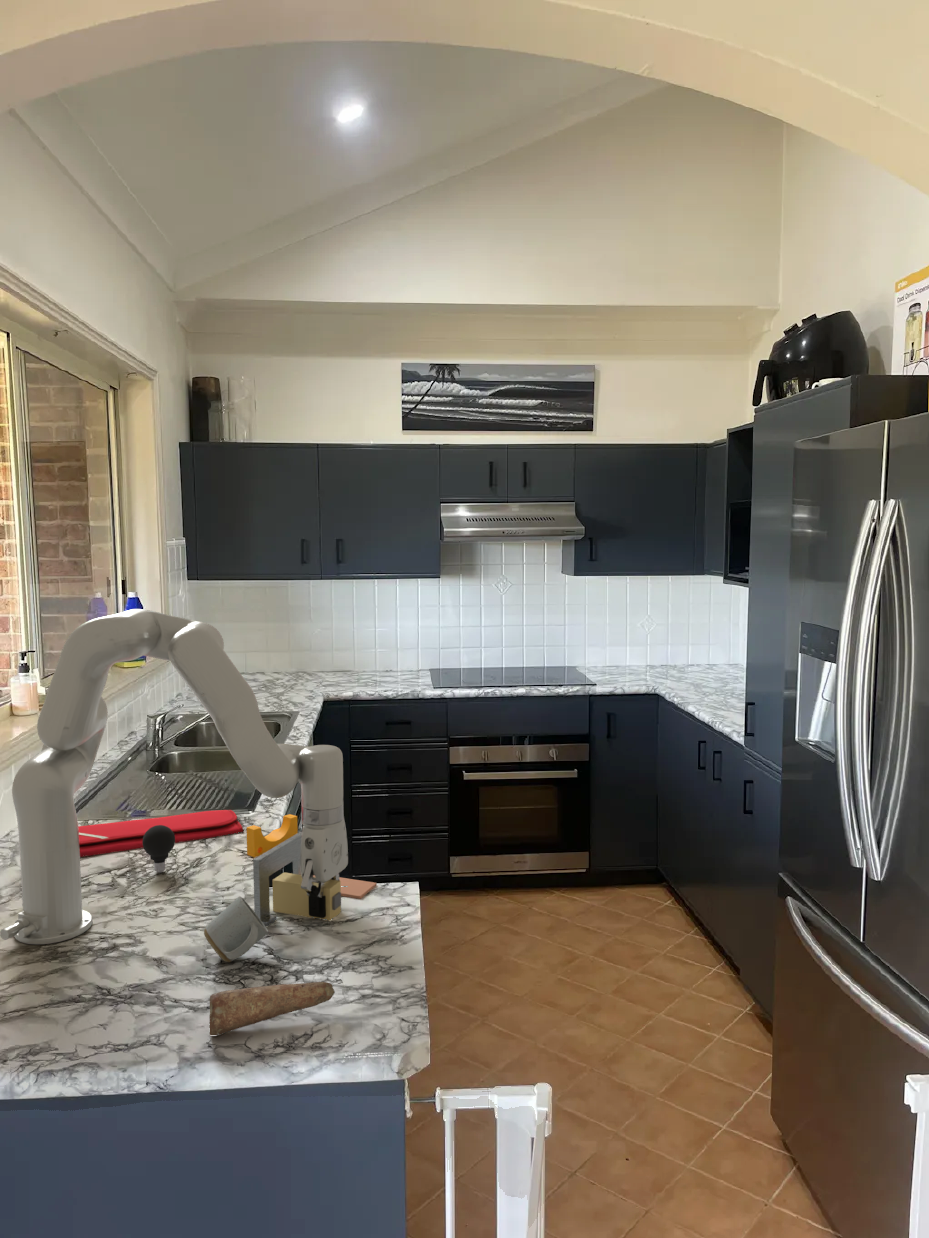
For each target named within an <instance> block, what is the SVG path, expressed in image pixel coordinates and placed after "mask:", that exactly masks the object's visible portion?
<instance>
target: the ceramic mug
mask: <svg viewBox="0 0 929 1238" xmlns="http://www.w3.org/2000/svg"><path fill="white" fill-rule="evenodd" d="M268 933H269V930H268V928H267V927H266V926H265V925H264V924H263V922H262V921H261V920H260V918H259V917H258V916H257V915H256V913H255V911H254V910H253V908H252V907H251V906H250V904H249V903H248V902H247V901H246V900H245V899H244V898H243V897H242V896H240V895H239V896H238V897H236V899H234V900H233V901H232V902H231V903H230V904H229V905H227V907H226V908H225V909H223V911H221V912H220V913H219V914H218V915H217V916H216V917H215V918H213V919H212V920H211V921H210V922H209V923H208V925H207V926H206V927H205V928H204V930H203V935H204V937H205V940H206V941H207V942H208V944H209V945H210V947H211V948H212V949H213V950H214V952H215V953H216V954H217V956H219V957H220V959H222V960H223V961H224V962H225V963H231V962H233V961H235V960H236V959H238V958H240V957H242V956H244V955H245V954H246V953H247V952H248V951H250V949H251V948H252V947H253V946H254V945H255V944H257V943H258V942H259V941H261V940H262V939H263V938H264V937H266V936H267V935H268Z"/></svg>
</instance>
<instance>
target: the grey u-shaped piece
mask: <svg viewBox="0 0 929 1238" xmlns="http://www.w3.org/2000/svg"><path fill="white" fill-rule="evenodd" d="M301 838H302V831H298V833H297V834H295V835H294V836H292V837H290V838H289V839H287V840H285V841H284V842H282V843H280V844H279V845H277V846H275V847H274V848H272V849H270V850H269V851H267V852H265V853H263V854H262V855H260V856H258V857H255V858H253V859H252V864H253V865H252V866H253V867H252V868H253V901H254V905H253V907H254V910H253V911H254V912H255V913H256V915H257V916H258V917H259V918H260V920H261V921H262V922H263V924H264V925H265V927H266V926H268V927H269V926H271V923H272V924H273V923H275V922H276V921H277V920H276V919H277V915H275V914H270V913H271V909H270V908H271V907H270V877H271V876H272V875H273V874H274V873H276V872H278V871H279V870H281V869H283V868H284V867H285V866H287V865H289V864H290V863H292V874H298V875H301V869H300V854H301ZM275 920H276V921H275Z"/></svg>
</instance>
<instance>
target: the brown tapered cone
mask: <svg viewBox="0 0 929 1238" xmlns="http://www.w3.org/2000/svg"><path fill="white" fill-rule="evenodd" d="M334 995H335V989H334V987H333V984H332V983H329V982H327V981H315V982H314V981H313V982H304V983H302V982H301V983H289V984H288V983H285V984H284V983H282V984H281V983H280V984H274V985H265V986H264V985H263V986H262V985H261V986H255V987H254V986H252V987H246V988H239V989H237V988H236V989H235V988H234V989H228V990H223V991H218V992H215V993H212V994H211V995H209V1024H210V1025H209V1028H210V1032H209V1036H210V1035H218V1034H221V1035H223V1034H222V1033H224V1034H225V1032H226V1033H229V1032H231V1030H232V1031H235V1030H237V1029H241V1028H244V1027H247V1026H251V1025H255V1024H257V1023H260V1022H264V1021H265V1022H266V1021H268V1020H271V1019H273V1018H276V1017H278V1016H281V1015H288V1014H291V1013H292V1012H296V1011H300V1010H302V1011H303V1010H305V1009H308V1008H313V1007H316V1006H318V1005H321V1004H323V1003H325V1002H328V1001H330V1000H331V999H332V997H333V996H334ZM228 1031H229V1032H228ZM218 1036H219V1035H218Z"/></svg>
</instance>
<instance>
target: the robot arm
mask: <svg viewBox="0 0 929 1238" xmlns="http://www.w3.org/2000/svg"><path fill="white" fill-rule="evenodd" d="M224 647H225V645H224V638H223V636H222V634H221V633H220V631H219V630H218V629H217V628H216V627H215V626H213V625H211V624H209V623H207V622H204V621H199V620H194V619H189V618H183V617H180V616H177V615H171V614H166V613H162V612H158V611H153V610H149V609H141V608H132V609H129V610H125V611H122V612H119V613H114V614H110V615H109V614H108V615H105V616H104V615H103V616H100V617H97V618H93V619H91V620H90V619H89V620H88V621H86V622H84V623H81V625H79V626H77V627H76V628H75V629H74V630H73V631H72V632H71V633H70V634H69V636H68V637H67V639H66V641H65V642H64V645H63V647H62V650H61V652H60V653H59V658H58V661H57V664H56V667H55V670H54V672H53V675H52V677H51V680H50V683H49V685H48V686H49V687H48V689H47V693H46V696H45V699H44V702H43V705H42V707H41V710H40V712H39V716H38V718H37V723H36V729H37V735H38V738H39V739H40V742H41V743H42V744H43V745H42V748H41V751H39V752H38V753H37V754H35V755H33V756H32V757H31V758H30V759H28V760H27V761H25V762H24V763H23V764H22V765H21V767H20V768H19V769H18V771H17V772H16V773H15V775H14V778H13V782H12V786H11V793H12V795H11V796H12V800H13V801H12V803H13V806H14V810H15V815H16V821H17V831H18V832H17V833H18V843H19V845H18V846H19V847H18V848H19V858H20V859H19V860H20V861H19V862H20V878H21V879H20V880H21V900H22V911H20V912H18V913H17V918H18V919H16V920H15V922H14V923H13V924H9V925H8V926H6V927H4V928H1V929H0V938H1V939H3V940H4V941H6V940H9V939H10V938H13V937H14V938H15V940H16V941H18V942H20V943H22V944H28V945H48V944H55V943H60V942H64V941H67V940H70V939H73V938H75V937H79V936H80V935H82V934H84V933H85V932H86V931H89V929H90V928H91V927H92V925H93V916H92V914H91V913H90V912H89V911H87V910H84V909H83V897H82V877H81V876H82V875H81V874H82V873H81V857H80V849H79V829H78V826H79V820H78V815H77V811H76V806H75V801H74V796H75V793H76V792H78V790H80V789H81V788H82V786H84V784H85V783H86V782H87V780H88V779H89V777H90V775H91V772H92V769H93V767H94V764H95V761H96V758H97V754H98V751H99V749H100V746H101V742H102V738H103V737H104V733H105V729H106V726H107V724H108V715H109V714H108V707H107V703H106V701H105V700H104V698H103V697H102V695H103V692H104V689H105V687H106V684H107V680H108V674H109V671H110V669H111V667H112V666H113V665H115V664H116V663H117V664H118V663H121V662H130V661H135V660H138V659H139V658H141V657H149V658H152V659H153V658H154V659H158V660H163V661H167V662H170V663H171V664H172V666H173V667H174V669H175V671H176V672H177V673H178V674H179V676H180V677H181V678H182V680H183V681H184V683H185V684H186V685H187V687H188V688H189V690H190V691H191V692H192V694H193V695H194V696H195V698H197V700H198V701H199V703H200V704H201V705H202V707H203V708H204V709H205V711H206V712H207V714H208V715H209V716H210V718H211V719H212V720H213V721H212V722H213V723H214V725H215V728H216V730H217V732H218V734H219V735H220V737H221V738H222V740H223V742H224V744H225V746H226V748H227V750H228V752H229V753H230V754H231V756H232V758H233V760H234V761H235V763H236V764H237V765H238V767H239V768H240V770H241V771H242V772H243V774H244V776H246V777H247V779H248V780H249V782H250V783H251V785H253V787H254V788H255V789H256V790H257V791H259V792H260V793H261V794H262V795H263V796H266V797H268V798H271V799H281V798H283V797H286V796H287V795H289V794H290V793H291V792H292V791H293V790H294V789H295V787H296V785H297V783H299V784H300V788H301V789H300V790H301V791H300V795H301V799H300V801H301V805H300V806H301V824H302V830H301V832H302V838H301V854H300V869H301V877H302V879H303V880H302V883H301V889H303V890H305V891H306V892H307V895H308V896H309V915H310V916H313V917H319V918H324V917H325V916H326V896H323V893H324V883H325V882H327V881H328V880H330V879H331V880H338V881H340V878H339V877H340V874H341V873H342V871H343V870H345V869H346V867H347V866H348V864H349V852H348V850H349V849H348V835H347V828H346V822H345V816H344V763H343V762H344V757H343V751H342V750H341V749H340V747H337V746H335V745H330V744H317V745H311V746H307V745H297V744H290V743H277V742H276V740H275V739H274V737H273V736H272V734H271V733H270V731H269V730H268V728H267V726H266V724H265V722H264V720H263V718H262V717H263V716H262V715H261V711H260V708H259V704H258V700H257V697H256V695H255V693H254V690H253V689H252V687H251V686H250V684H249V683H248V682H247V680H246V679H245V677H243V675H242V674H241V673H240V671H239V669H238V668H237V667H236V665H235V664H234V662H232V660H231V659H230V657H229V656H228V654H227V653H226V652H225V650H224ZM313 875H315V877H316V878H313ZM313 882H315V883H319V884H318V888H317V887H316V886H315V885H313Z"/></svg>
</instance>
